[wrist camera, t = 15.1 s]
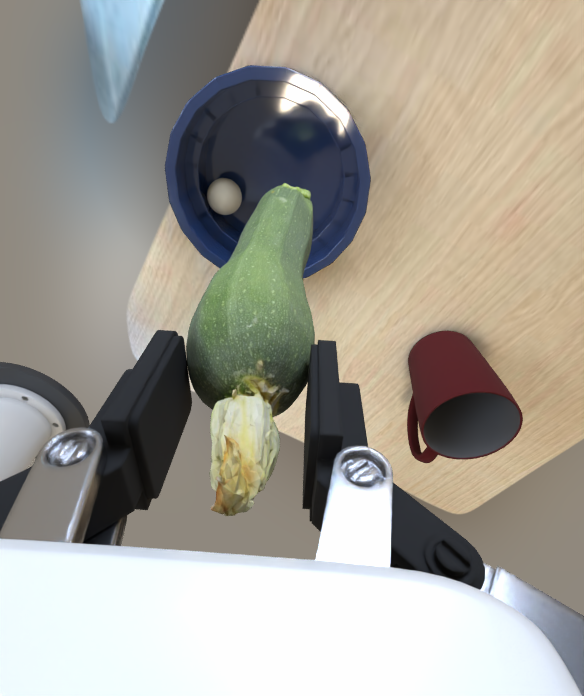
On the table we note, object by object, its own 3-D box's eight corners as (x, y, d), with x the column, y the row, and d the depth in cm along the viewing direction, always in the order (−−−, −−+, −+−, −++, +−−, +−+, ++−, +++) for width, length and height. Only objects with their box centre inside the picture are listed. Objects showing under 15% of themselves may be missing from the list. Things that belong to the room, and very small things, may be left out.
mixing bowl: (195, 252, 40) (178, 277, 35) (177, 62, 31) (150, 59, 26) (350, 262, 40) (354, 289, 35) (376, 73, 31) (387, 72, 26)
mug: (430, 412, 50) (454, 486, 41) (371, 386, 49) (383, 457, 39) (498, 345, 44) (545, 415, 35) (434, 311, 42) (466, 376, 33)
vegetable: (294, 247, 26) (264, 590, 10) (232, 217, 25) (97, 553, 9) (328, 185, 23) (354, 523, 8) (260, 148, 22) (137, 459, 7)
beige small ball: (242, 218, 34) (252, 187, 35) (214, 198, 32) (225, 166, 33) (223, 223, 36) (233, 195, 37) (195, 205, 34) (207, 175, 35)
